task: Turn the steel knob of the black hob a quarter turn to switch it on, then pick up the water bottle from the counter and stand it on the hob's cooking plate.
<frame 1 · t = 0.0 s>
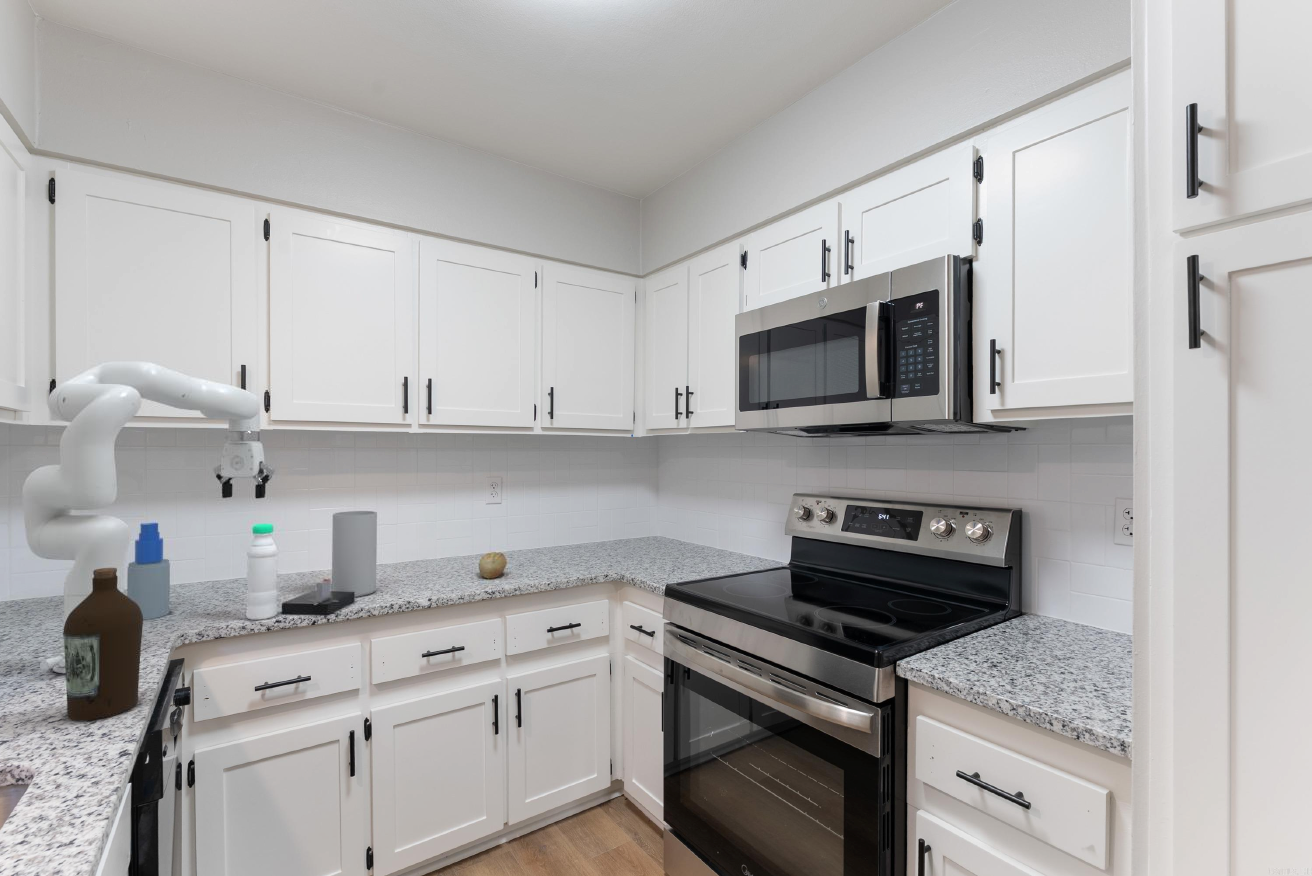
hand: (243, 497, 178), 31 cm above the countertop, tool pointing down, fingers open, 9 cm apart
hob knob: (323, 590, 174), point 6 cm above the countertop, hinge at 0.0°
hob: (319, 607, 178), on the countertop
spray bottle: (148, 615, 169), on the countertop
olive oil: (102, 710, 111), on the countertop
cylinder vase: (354, 593, 195), on the countertop
water bottle: (261, 617, 169), on the countertop
bread roll: (492, 575, 223), on the countertop
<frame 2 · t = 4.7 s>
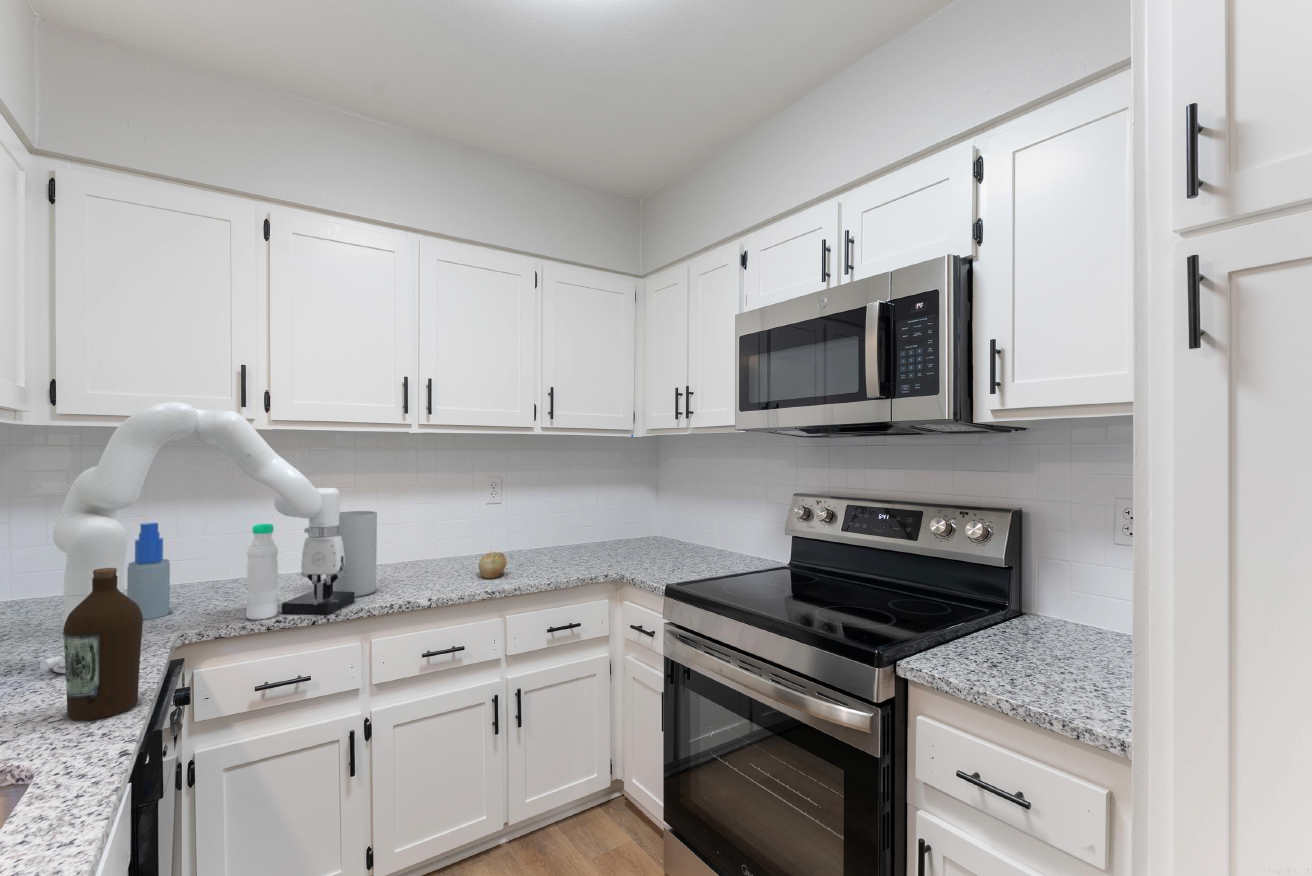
hand: (323, 597, 174), 4 cm above the countertop, tool pointing down, fingers closed on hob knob
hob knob: (323, 590, 174), point 6 cm above the countertop, hinge at 4.0°, touching gripper
everything else where it was.
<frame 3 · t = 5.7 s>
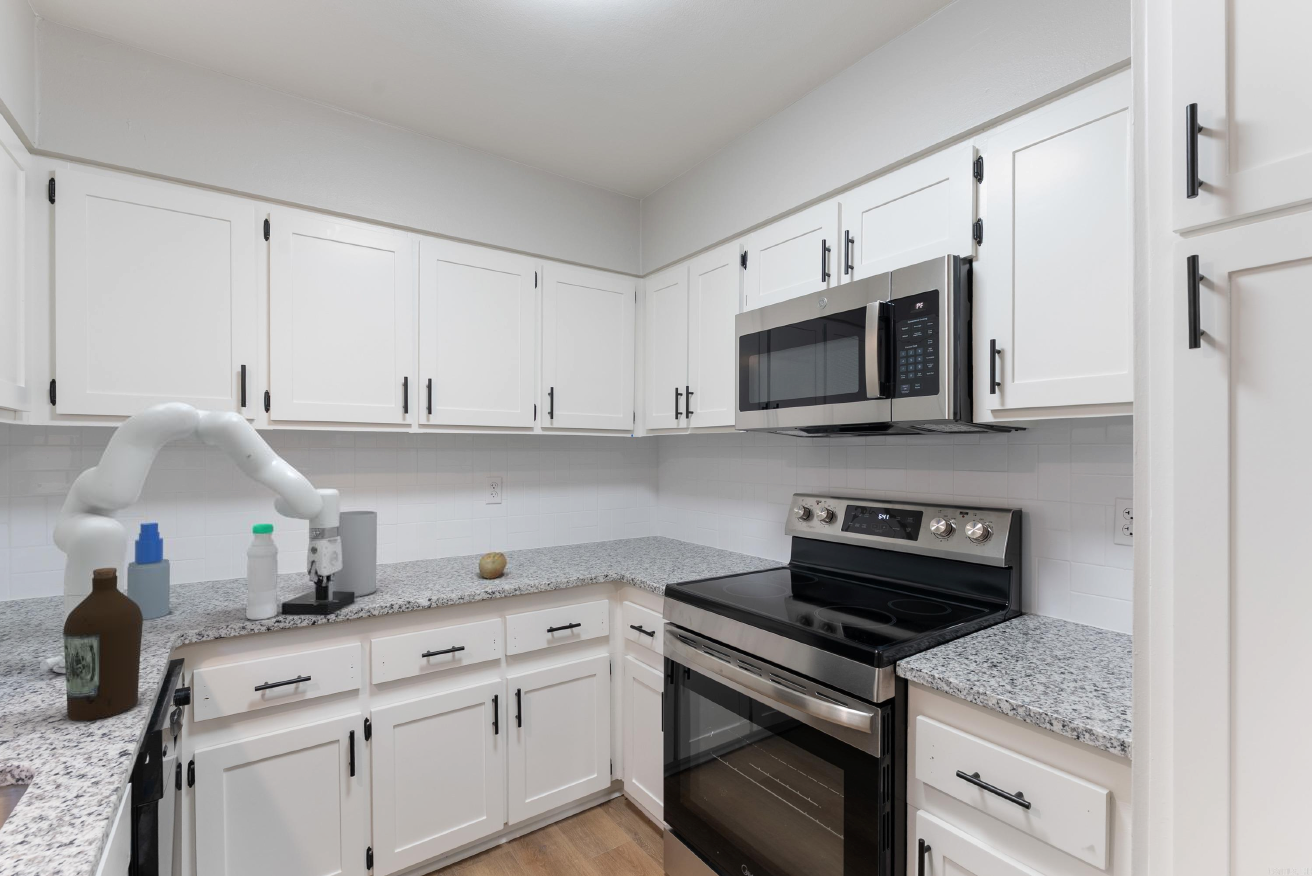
hand: (323, 598, 174), 4 cm above the countertop, tool pointing down, fingers closed
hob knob: (323, 590, 174), point 6 cm above the countertop, hinge at 89.2°, touching gripper
everything else where it was.
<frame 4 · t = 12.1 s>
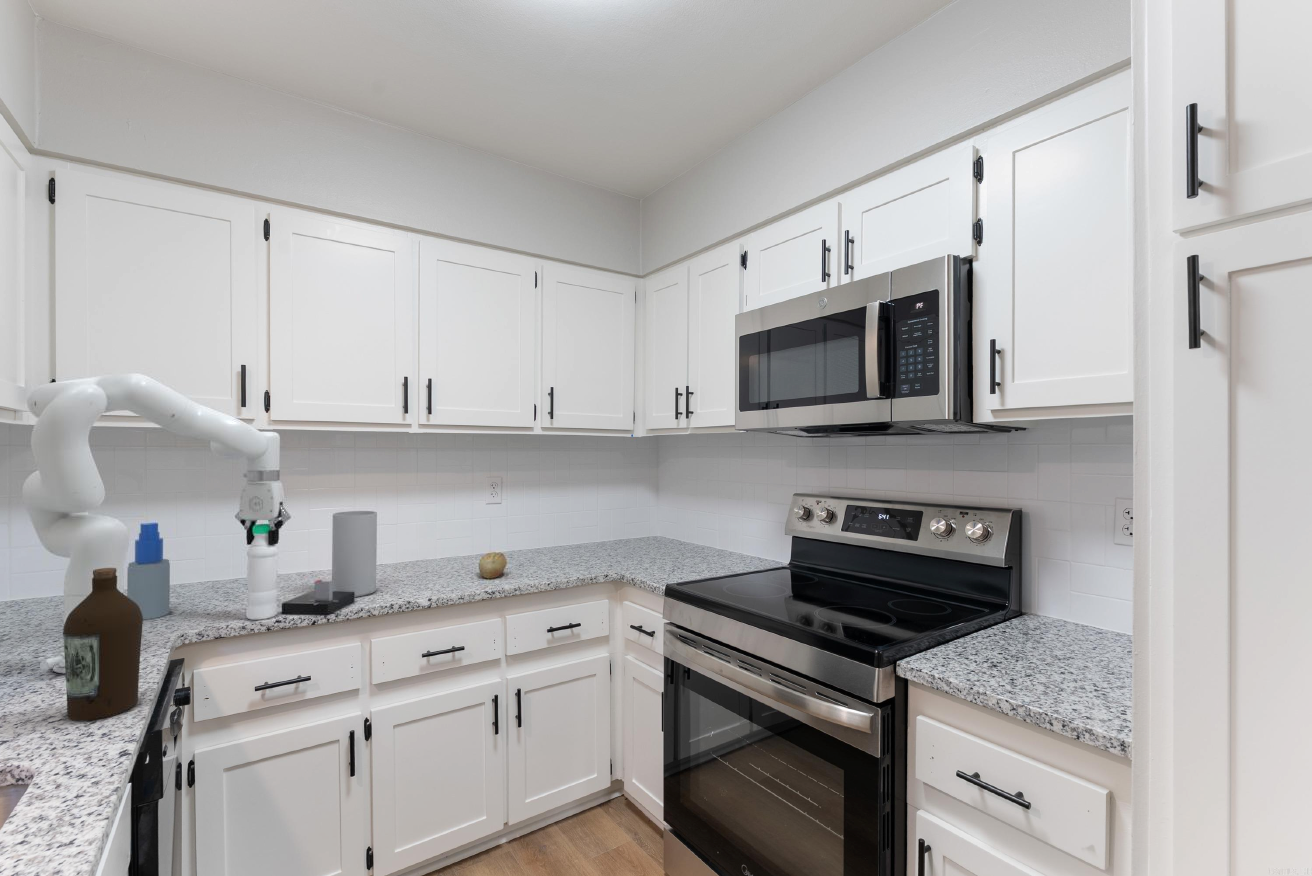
hand: (262, 543, 169), 20 cm above the countertop, tool pointing down, fingers closed on water bottle, 5 cm apart
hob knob: (323, 590, 174), point 6 cm above the countertop, hinge at 88.6°
water bottle: (261, 617, 169), on the countertop, touching gripper
everything else where it was.
when the fingers open (23 cm above the countertop, at t = 18.8 s): water bottle stays where it is, resting on hob.
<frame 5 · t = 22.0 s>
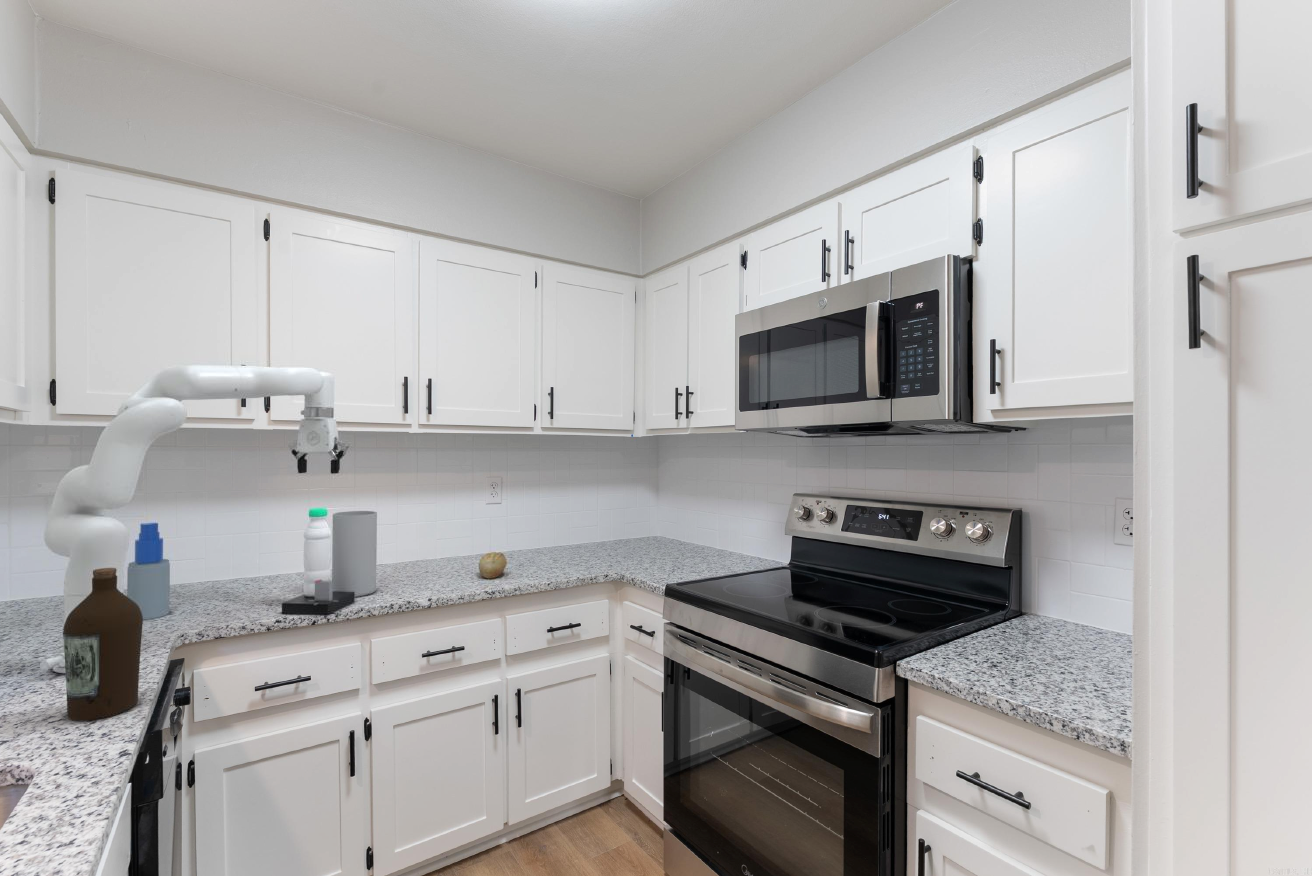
hand: (318, 473, 182), 38 cm above the countertop, tool pointing down, fingers open, 9 cm apart
water bottle: (317, 595, 181), point 3 cm above the countertop, touching hob
everything else where it was.
at the end: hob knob at +89° (first picture: +0°); water bottle inside the target area on the hob (0.1 cm from its centre), point 2.8 cm above the hob's base; water bottle tilted 0° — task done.
